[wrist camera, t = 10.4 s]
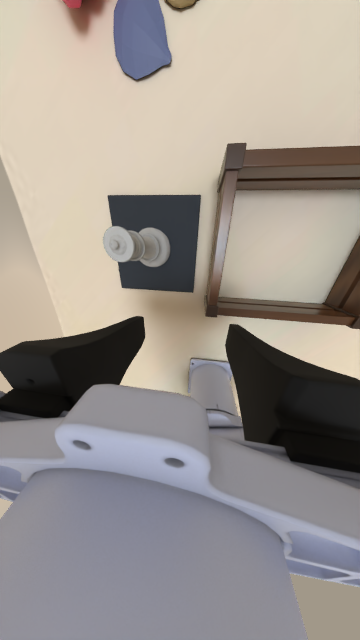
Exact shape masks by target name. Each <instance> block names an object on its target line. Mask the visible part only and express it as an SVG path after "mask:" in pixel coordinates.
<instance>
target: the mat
mask: <svg viewBox="0 0 360 640" xmlns="http://www.w3.org/2000/svg"><path fill="white" fill-rule="evenodd" d="M200 199H201V195H108V201H109V208H110V214H111V220H112V227H113V226H119V227H123V228H124V229H126V230H127V231H135V232H137V233H139V232H140V231H141V230H142V229H145V228H155V229H158V230H160V231H161V232H163V233H164V234H165V235H166V236H167V238H168V240H169V243H170V256H169V258H168V260H167V261H166V262H165V263H164V264H163V265H161V266H157V267H149V266H146V265H145V264H143V263H142V262H141V261H140V260H138V261H131V260H129V261H127V262H118V266H119V272H120V278H121V285H122V288H131V289H147V290H162V291H177V292H192V293H193V289H194V276H195V263H196V250H197V237H198V224H199V212H200Z"/></svg>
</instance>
